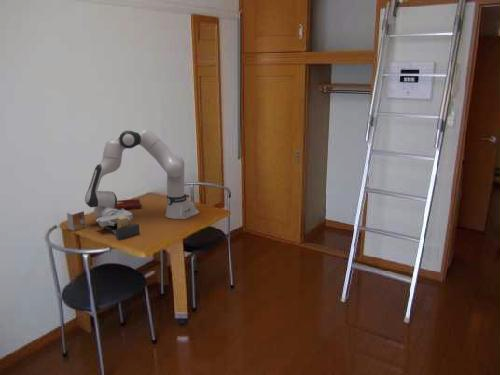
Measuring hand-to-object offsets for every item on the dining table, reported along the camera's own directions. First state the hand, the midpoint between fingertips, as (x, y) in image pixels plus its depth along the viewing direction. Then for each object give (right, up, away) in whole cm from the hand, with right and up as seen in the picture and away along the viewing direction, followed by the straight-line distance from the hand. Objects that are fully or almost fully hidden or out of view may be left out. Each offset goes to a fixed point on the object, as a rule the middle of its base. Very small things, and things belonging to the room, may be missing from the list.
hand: (121, 222), depth 247 cm
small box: (-29, -4, +7) cm, 30 cm away
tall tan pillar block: (0, -6, +1) cm, 7 cm away
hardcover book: (-11, +6, +45) cm, 47 cm away
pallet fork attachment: (-3, -5, +5) cm, 8 cm away
